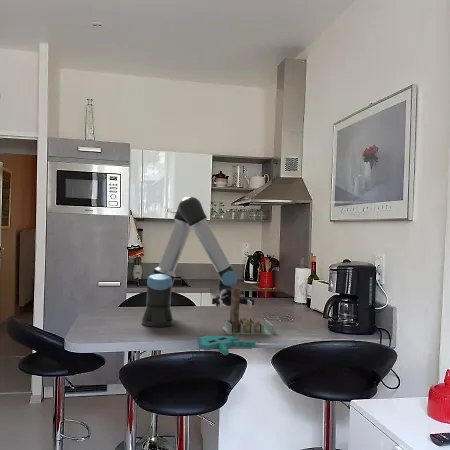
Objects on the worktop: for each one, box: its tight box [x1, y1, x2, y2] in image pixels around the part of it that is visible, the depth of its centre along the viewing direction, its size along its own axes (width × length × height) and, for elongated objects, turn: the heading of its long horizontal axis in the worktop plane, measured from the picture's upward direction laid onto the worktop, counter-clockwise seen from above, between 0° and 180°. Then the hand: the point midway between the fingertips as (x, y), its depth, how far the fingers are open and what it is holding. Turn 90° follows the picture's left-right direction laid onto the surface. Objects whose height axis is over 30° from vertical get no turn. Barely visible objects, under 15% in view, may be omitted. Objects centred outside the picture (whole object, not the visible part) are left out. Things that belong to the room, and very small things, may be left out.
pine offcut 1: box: [239, 317, 250, 333], centre depth 215 cm, size 3×8×5 cm, turn 9°
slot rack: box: [222, 318, 276, 336], centre depth 215 cm, size 22×13×5 cm, turn 99°
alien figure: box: [197, 335, 256, 356], centre depth 191 cm, size 20×2×20 cm
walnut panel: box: [229, 285, 241, 333], centre depth 214 cm, size 2×8×20 cm, turn 9°
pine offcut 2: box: [249, 317, 261, 333], centre depth 215 cm, size 3×8×5 cm, turn 9°
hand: (236, 304), depth 211 cm, fingers open, 13 cm apart
